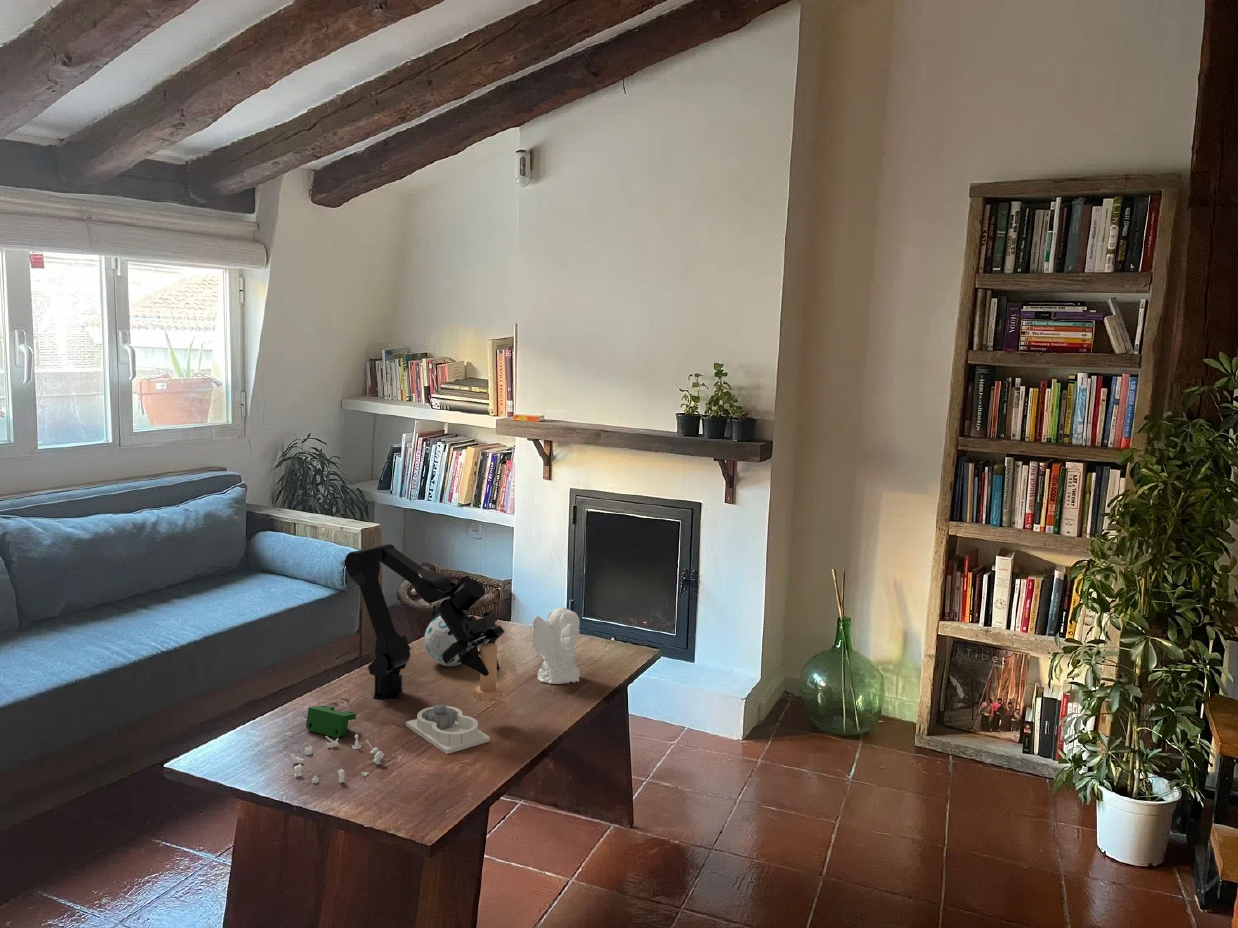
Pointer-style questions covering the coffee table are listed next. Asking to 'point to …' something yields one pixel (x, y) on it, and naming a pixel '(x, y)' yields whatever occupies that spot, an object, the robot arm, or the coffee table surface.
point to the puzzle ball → (439, 641)
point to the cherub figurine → (557, 645)
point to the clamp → (328, 720)
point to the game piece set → (309, 749)
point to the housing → (447, 728)
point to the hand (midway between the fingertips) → (493, 672)
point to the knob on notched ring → (488, 683)
